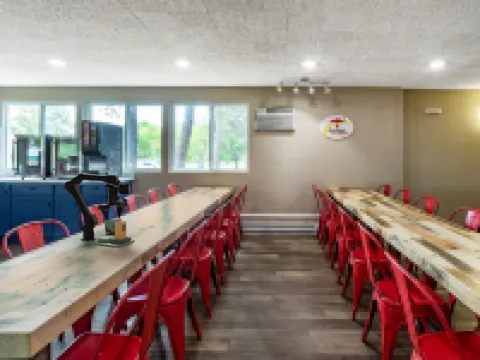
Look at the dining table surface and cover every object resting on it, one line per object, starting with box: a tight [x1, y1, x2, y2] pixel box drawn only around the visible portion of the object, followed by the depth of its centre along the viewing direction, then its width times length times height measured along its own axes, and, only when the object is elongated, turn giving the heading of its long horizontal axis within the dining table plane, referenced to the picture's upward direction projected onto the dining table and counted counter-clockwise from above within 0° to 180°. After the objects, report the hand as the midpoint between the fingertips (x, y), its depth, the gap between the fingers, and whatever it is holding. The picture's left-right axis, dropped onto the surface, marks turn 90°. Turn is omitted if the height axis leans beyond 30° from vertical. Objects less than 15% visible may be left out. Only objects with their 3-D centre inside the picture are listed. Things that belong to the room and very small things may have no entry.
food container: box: [103, 217, 122, 236], centre depth 216 cm, size 12×6×10 cm, turn 143°
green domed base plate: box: [89, 235, 135, 248], centre depth 193 cm, size 20×15×4 cm
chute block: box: [114, 220, 127, 240], centre depth 191 cm, size 5×5×12 cm
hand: (113, 219), depth 200 cm, fingers open, 9 cm apart
